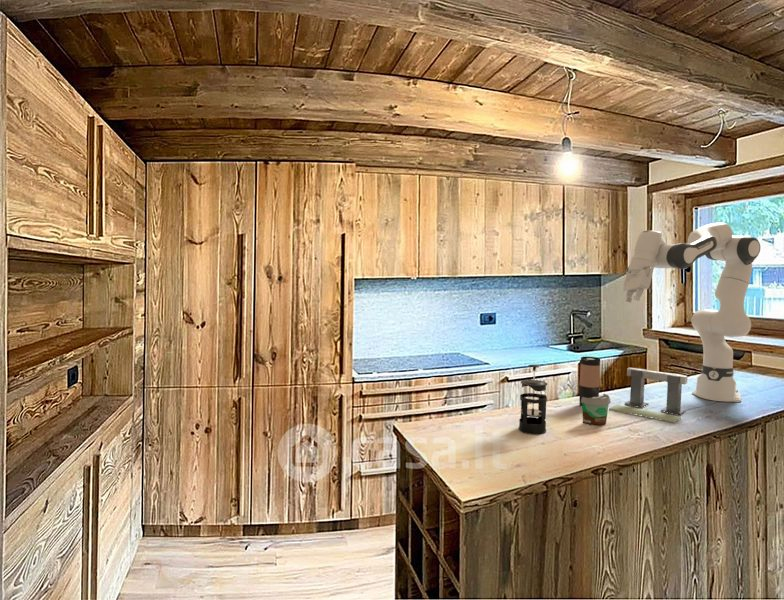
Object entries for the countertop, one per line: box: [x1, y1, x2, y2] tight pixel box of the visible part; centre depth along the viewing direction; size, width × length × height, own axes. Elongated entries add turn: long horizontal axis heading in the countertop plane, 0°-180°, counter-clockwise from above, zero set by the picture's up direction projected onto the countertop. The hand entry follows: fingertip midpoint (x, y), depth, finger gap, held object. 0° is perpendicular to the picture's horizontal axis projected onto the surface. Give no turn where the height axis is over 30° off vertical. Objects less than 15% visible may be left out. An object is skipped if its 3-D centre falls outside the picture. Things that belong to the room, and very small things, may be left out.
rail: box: [626, 367, 689, 385], centre depth 210 cm, size 3×22×3 cm, turn 45°
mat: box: [608, 404, 682, 424], centre depth 202 cm, size 8×24×1 cm, turn 45°
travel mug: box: [578, 356, 601, 407], centre depth 212 cm, size 8×8×20 cm
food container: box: [581, 393, 612, 427], centre depth 188 cm, size 12×6×10 cm, turn 117°
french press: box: [518, 364, 548, 435], centre depth 180 cm, size 12×9×23 cm
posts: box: [624, 367, 687, 416], centre depth 210 cm, size 7×21×15 cm, turn 45°
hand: (632, 301), depth 208 cm, fingers open, 8 cm apart
